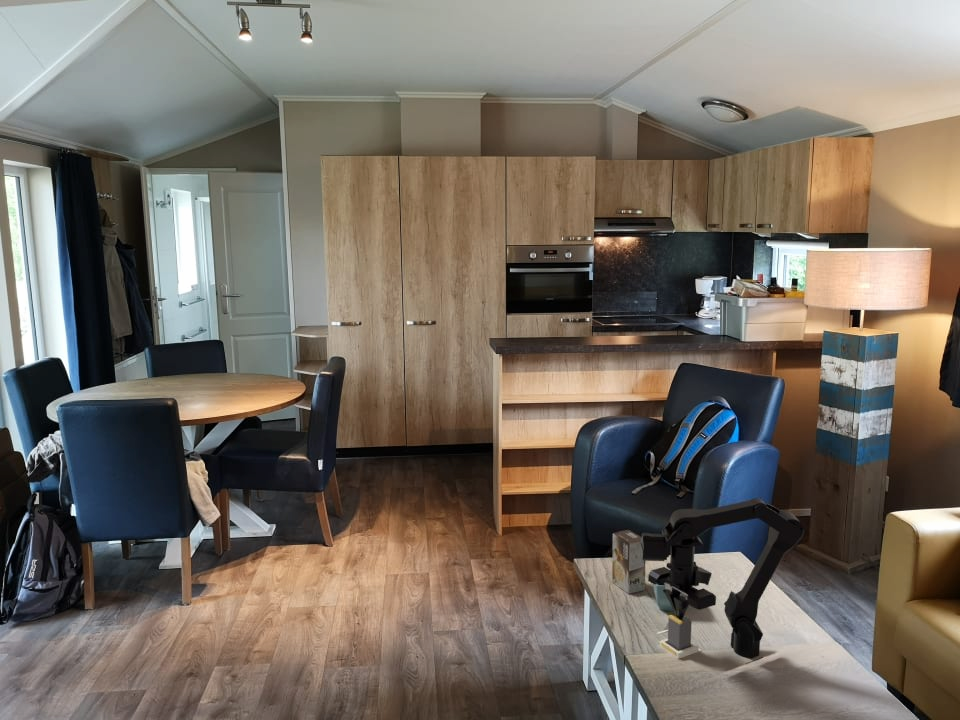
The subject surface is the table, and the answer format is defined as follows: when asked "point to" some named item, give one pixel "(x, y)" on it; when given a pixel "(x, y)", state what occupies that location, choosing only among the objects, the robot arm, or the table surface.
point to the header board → (674, 652)
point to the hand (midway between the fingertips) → (679, 618)
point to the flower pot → (662, 596)
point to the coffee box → (628, 562)
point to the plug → (679, 632)
